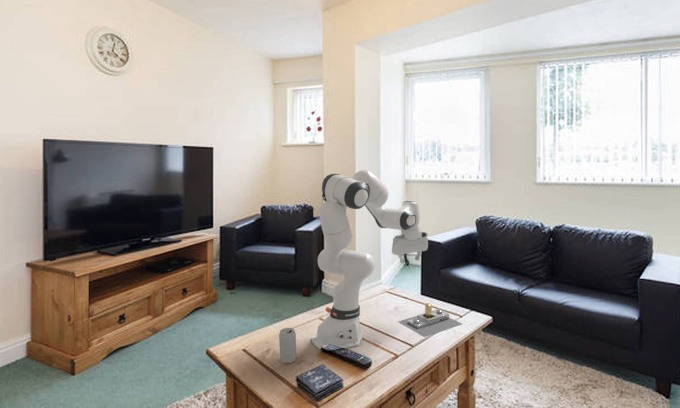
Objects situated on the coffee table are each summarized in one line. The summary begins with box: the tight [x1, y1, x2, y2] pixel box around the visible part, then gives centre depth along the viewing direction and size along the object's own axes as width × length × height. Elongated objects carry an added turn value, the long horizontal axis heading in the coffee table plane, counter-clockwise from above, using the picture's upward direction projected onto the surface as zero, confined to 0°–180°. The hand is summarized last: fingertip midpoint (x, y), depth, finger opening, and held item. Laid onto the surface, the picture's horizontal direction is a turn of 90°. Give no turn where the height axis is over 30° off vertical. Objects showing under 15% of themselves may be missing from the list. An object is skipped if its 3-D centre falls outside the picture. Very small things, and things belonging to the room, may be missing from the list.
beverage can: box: [278, 327, 297, 364], centre depth 140 cm, size 6×6×12 cm
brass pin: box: [424, 302, 433, 319], centre depth 172 cm, size 3×3×8 cm
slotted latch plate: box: [408, 308, 450, 329], centre depth 172 cm, size 20×7×3 cm, turn 120°
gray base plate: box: [397, 315, 463, 338], centre depth 170 cm, size 24×18×1 cm
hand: (409, 261), depth 178 cm, fingers open, 8 cm apart
